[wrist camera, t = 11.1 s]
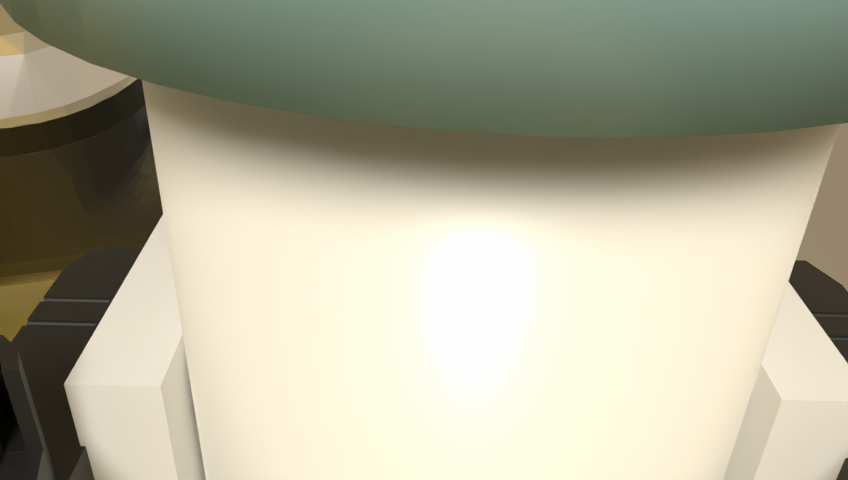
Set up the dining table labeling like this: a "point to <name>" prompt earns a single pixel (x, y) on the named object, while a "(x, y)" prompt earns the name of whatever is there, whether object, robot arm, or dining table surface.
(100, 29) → the teal-capped white peg
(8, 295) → the dining table surface
